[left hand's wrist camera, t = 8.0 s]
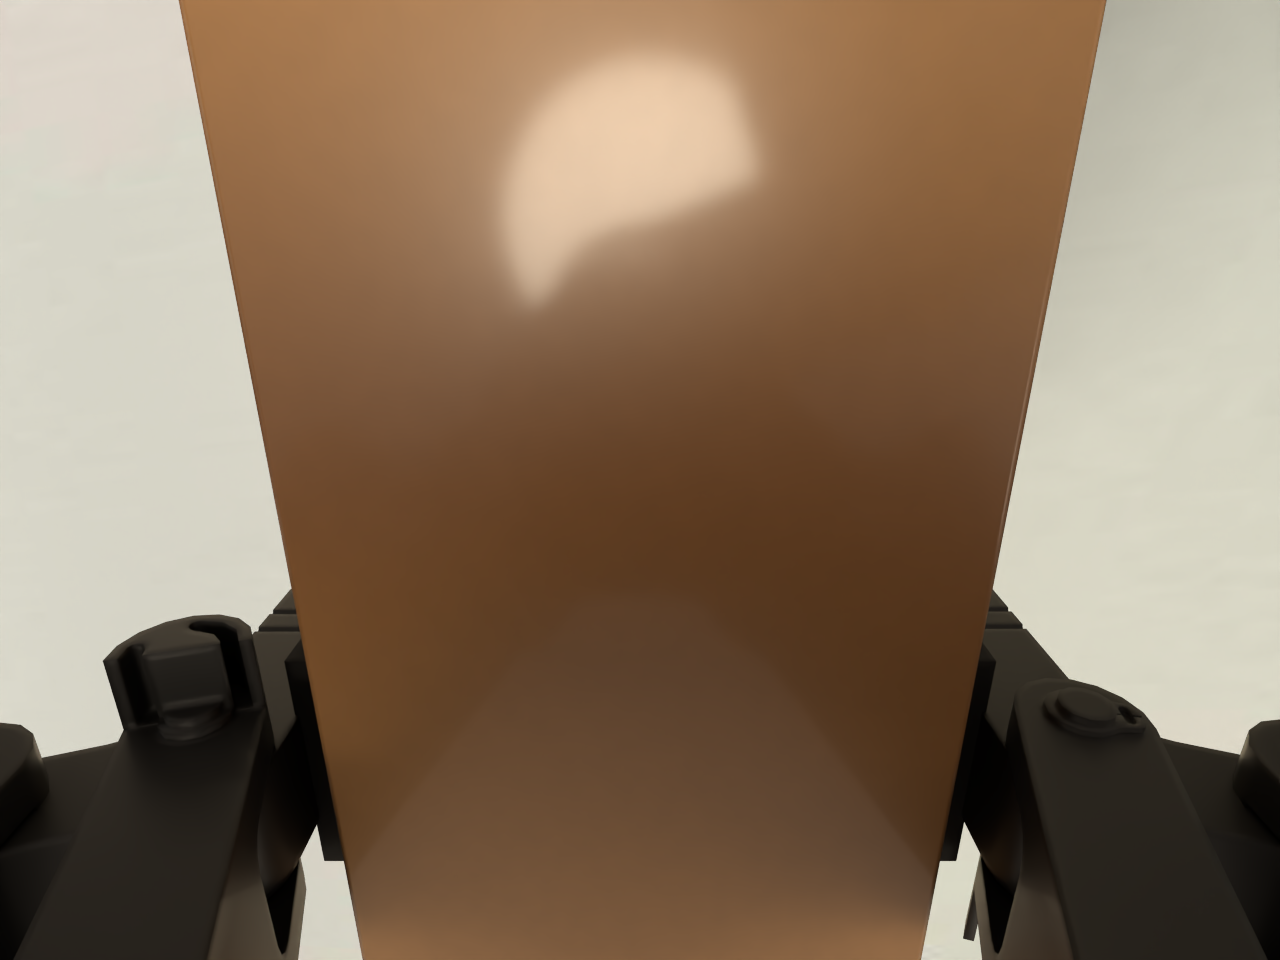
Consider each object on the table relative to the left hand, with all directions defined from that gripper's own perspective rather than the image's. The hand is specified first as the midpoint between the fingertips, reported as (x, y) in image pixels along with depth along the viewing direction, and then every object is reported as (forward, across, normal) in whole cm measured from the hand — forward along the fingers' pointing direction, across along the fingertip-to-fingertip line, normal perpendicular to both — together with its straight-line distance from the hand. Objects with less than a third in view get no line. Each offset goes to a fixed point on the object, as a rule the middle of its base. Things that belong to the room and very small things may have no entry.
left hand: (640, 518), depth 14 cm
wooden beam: (+1, 0, -24) cm, 24 cm away
